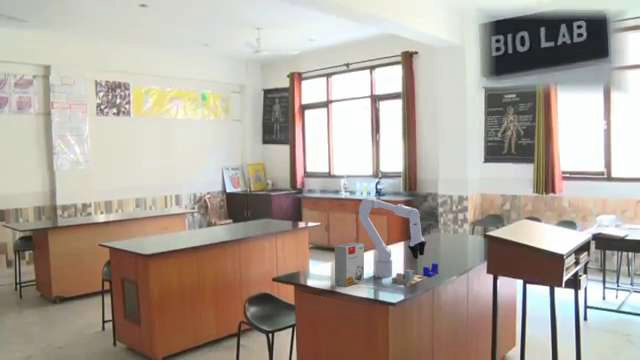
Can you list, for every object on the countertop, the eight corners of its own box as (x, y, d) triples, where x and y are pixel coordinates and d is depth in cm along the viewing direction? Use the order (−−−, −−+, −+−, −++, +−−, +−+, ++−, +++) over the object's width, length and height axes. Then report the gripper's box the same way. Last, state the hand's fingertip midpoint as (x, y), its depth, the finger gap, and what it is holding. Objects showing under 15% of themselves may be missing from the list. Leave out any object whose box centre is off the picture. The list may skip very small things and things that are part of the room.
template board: (407, 287, 245) (407, 275, 245) (390, 284, 252) (390, 273, 251) (428, 278, 262) (428, 267, 262) (411, 276, 269) (411, 265, 268)
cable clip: (431, 279, 262) (430, 268, 262) (423, 278, 265) (423, 266, 264) (440, 274, 271) (440, 263, 271) (433, 273, 274) (433, 262, 274)
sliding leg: (412, 281, 254) (412, 271, 253) (404, 279, 256) (404, 270, 256) (415, 280, 256) (415, 270, 256) (407, 278, 259) (407, 269, 259)
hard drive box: (346, 287, 248) (345, 247, 247) (334, 285, 253) (333, 246, 252) (364, 281, 260) (364, 243, 259) (353, 279, 265) (352, 241, 264)
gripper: (417, 233, 255) (420, 260, 255) (428, 228, 267) (431, 253, 267) (404, 234, 259) (407, 259, 259) (416, 229, 271) (418, 253, 271)
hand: (418, 256), depth 263 cm, fingers open, 7 cm apart
